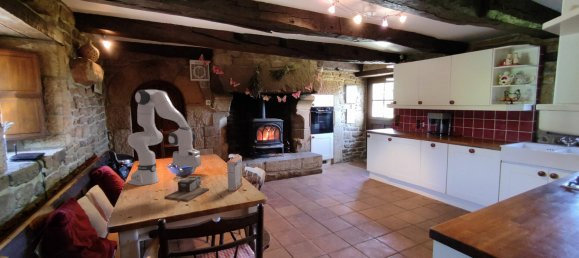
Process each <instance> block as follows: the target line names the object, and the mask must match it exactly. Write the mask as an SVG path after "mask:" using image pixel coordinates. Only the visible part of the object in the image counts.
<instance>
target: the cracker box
mask: <svg viewBox="0 0 579 258" xmlns="http://www.w3.org/2000/svg"><path fill="white" fill-rule="evenodd" d="M242 160H243V159H242V157H238V156H237V157H233V158H232V159H229V160H228V161H227V162H226V166H227V169H226V170H227V189H228V190H227V191H228V192H231V191H232V192H237V190H238V189H239V188H240V187H242V185H243V171H242V170H243V164H242Z"/></svg>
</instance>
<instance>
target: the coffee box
mask: <svg viewBox="0 0 579 258" xmlns="http://www.w3.org/2000/svg"><path fill="white" fill-rule="evenodd" d="M201 185H202V176H201V175H200V176H199V175H197V176H196V175H189V176H187V177H185V178H183V179H181V180H179V181H177V191H187V192H190V191H192V190H193V189H195V188H197V187H200V186H201Z"/></svg>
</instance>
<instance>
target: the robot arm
mask: <svg viewBox="0 0 579 258" xmlns="http://www.w3.org/2000/svg"><path fill="white" fill-rule="evenodd" d="M134 99H135V102H136V103H137V109H136V111H137V114H136V115H137V117H136V118H137V124H138V125H139V126H140V127H142V128H143V130H144V131H138V132H137V131H136V132H134V133H131V134H129V135H128V136H127V144H128V145H129V146H130V147H131V148H133V149H134V150H135V151H136V153H137V156H138V164H137V165H136V168H137V169H136V170H135V171H134V172H132V173H131V175H130V179H129V180H127V181H126V183H127V184H131V185H134V186H138V187H139V186H146V185H152V184H153V185H154V184H156V183H159V181H160V180H159V177H158V172H157V171H158V170H157V163H156V154H155V152H154V151H153V150H150V148H149V146H155V145H158V144H160V143H161V142H163V139H164V136H163V133H162V132H161V131H160V130H158V128H157V127H156V123H155V112H156V114H157V115H158V116H159V117H160V118H163V119H167V120H170V121H173V122H175V123H176V124H177V126H179V127H178V129H177V130H175V131H172V132H170V133H169V134H168V136H167V139H168V141H167V142H168V143H169V144H170V146H173V147H178V151H177V150H176V151H174V152H173V153H172V165H173V166H177V168H178V170H179V172H180V173H183V172H184V168H182V167H191V168H192V169H191V170H190V174H194V173H195V172H196V171H195V170H196V168H197V167H200V166H201V165H202V159H201V158H202V157H201V155H200V154H201V151H200V150H198V149H195V148H194V147H193V146H194V145H193V144H194V143H195V142H196V139H197V135H196V132H195V131H194V130H193V129H192V128H191V126H190V125H189V124H188V122H187V120H186V119H185V117H184V115H183V114H182V113H181V112H180V111H179V110H177V108H175V106H174V105H173V103H172V101H171V100H170V97H169V94H168V92H167V91H165V90H161V89H159V90H158V89H139V90H137V91H136V93H135V95H134Z"/></svg>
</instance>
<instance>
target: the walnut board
mask: <svg viewBox="0 0 579 258" xmlns="http://www.w3.org/2000/svg"><path fill="white" fill-rule="evenodd" d="M209 191H210V188H207V187H206V188H205V187H200V186H198V187H197V188H195V189H193V190H192V191H190V192H187V191H178V190H176V191H173V192H172V193H169V194H167V195H164V199H165V200H166V199H168V200H174V201H183V202H190V201H191V200H192V201H193V200H195V199H196V198H198V197H199V196H201V195H203V194H205V193H206V192H209Z"/></svg>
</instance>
